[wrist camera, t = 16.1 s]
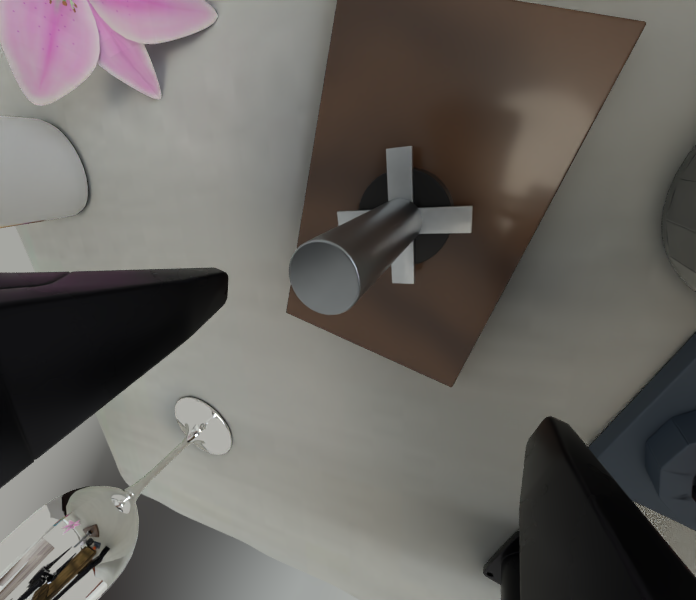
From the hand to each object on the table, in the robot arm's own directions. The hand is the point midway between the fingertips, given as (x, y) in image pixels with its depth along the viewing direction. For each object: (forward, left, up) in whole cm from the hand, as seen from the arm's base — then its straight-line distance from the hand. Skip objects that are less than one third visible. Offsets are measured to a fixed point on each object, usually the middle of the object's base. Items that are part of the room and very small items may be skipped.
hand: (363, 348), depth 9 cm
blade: (+1, +2, -11) cm, 11 cm away
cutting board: (+1, +2, -12) cm, 12 cm away
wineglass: (-27, +16, -12) cm, 33 cm away
